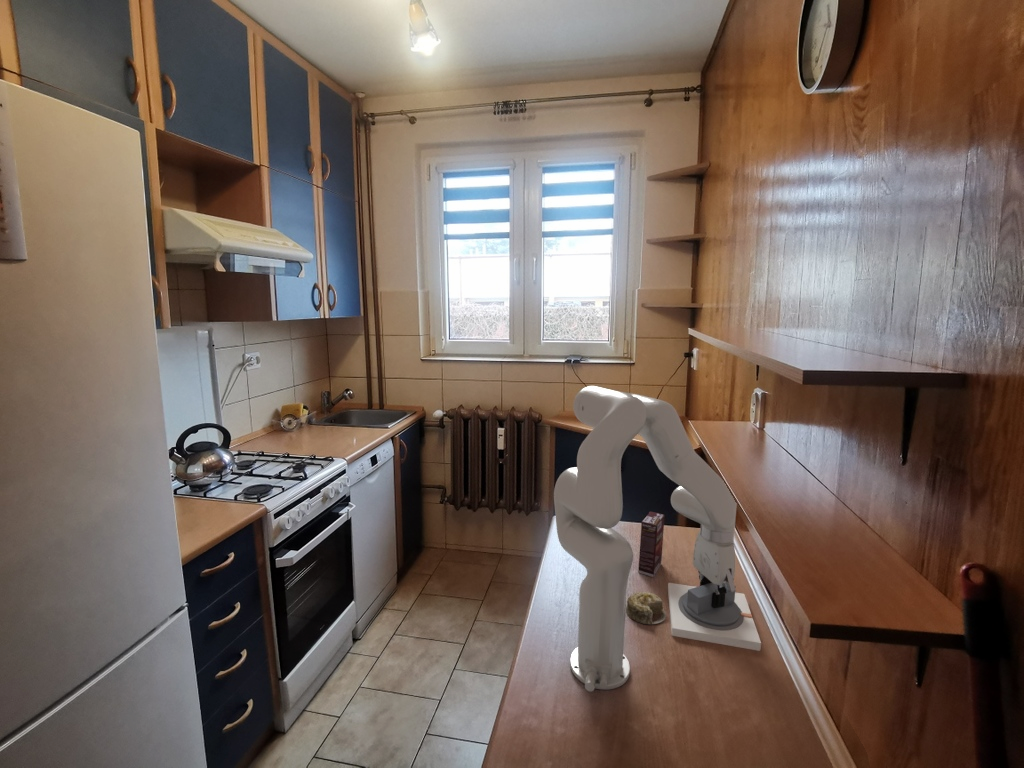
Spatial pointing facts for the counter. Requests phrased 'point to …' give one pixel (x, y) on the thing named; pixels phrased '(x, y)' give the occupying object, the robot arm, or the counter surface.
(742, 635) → the dial plate
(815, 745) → the counter surface
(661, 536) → the supplement box
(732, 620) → the dial
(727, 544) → the robot arm
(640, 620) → the cake
